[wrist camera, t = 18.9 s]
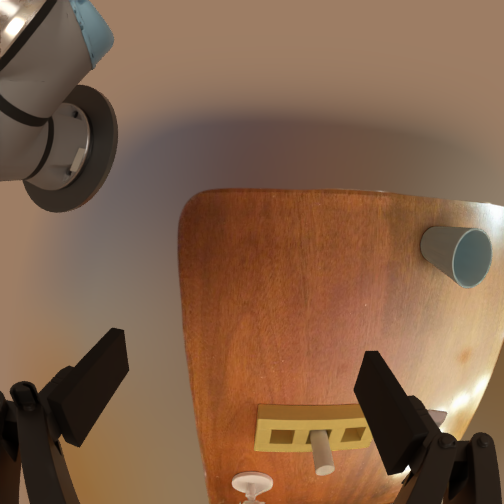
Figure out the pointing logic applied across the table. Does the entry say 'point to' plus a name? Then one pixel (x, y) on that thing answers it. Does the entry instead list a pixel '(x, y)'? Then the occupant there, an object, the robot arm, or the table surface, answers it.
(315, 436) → the peg
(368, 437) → the block
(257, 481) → the figurine
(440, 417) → the remote control
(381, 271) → the table surface
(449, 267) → the cup
